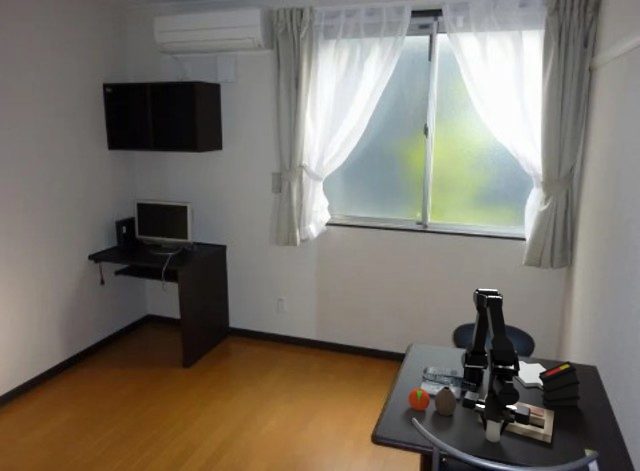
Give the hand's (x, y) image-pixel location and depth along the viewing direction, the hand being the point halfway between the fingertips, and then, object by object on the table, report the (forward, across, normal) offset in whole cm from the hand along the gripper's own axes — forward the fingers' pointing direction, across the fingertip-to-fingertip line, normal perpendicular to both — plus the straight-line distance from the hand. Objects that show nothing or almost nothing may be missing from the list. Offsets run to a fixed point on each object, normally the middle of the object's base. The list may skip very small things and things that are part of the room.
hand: (493, 432), depth 144 cm
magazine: (+2, +16, +30) cm, 34 cm away
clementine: (+2, -24, +3) cm, 24 cm away
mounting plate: (+2, +7, +45) cm, 46 cm away
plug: (+2, 0, 0) cm, 2 cm away
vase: (+2, -16, +6) cm, 17 cm away
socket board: (+2, +5, +13) cm, 14 cm away
